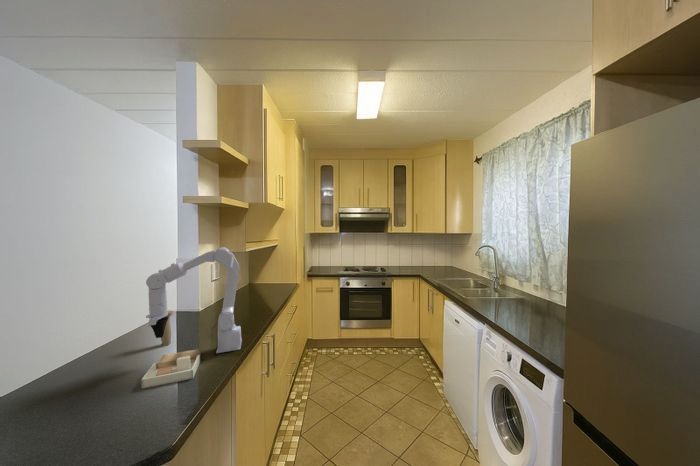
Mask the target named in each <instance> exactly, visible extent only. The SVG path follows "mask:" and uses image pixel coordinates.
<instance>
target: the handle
mask: <svg viewBox="0 0 700 466" xmlns="http://www.w3.org/2000/svg"><path fill="white" fill-rule="evenodd" d="M167 312H168V315H167V316H165V317H169V318H168V320H167V323H166V326H165V330H164V335H163V337H161V338H160V341H161V345H162V346H164V347H165V346H168V345H170V344H171V342H172V328H171V319H170V317H171V316H172V315H174V310H171V309H169V310H167Z"/></svg>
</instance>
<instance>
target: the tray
mask: <svg viewBox="0 0 700 466" xmlns="http://www.w3.org/2000/svg"><path fill="white" fill-rule="evenodd" d="M200 363H201V355H198V356H197V358H196V360H195V362H193V363H191V367H190V369H185V370H179V371H177V366H172V373H171V374H165V375H160V376H156V373H157V371H158V368H157V362H153V364H152V365H150V367H149V369H148V370H147V371H146V373H144V375H143V376H142V378H141V379H140V386H141V388H140V389H141V390H143V389H148V388H153V387H158V386H162V385H167V384H168V385H169V384H173V383H178V382H183V381H187V380H192V379H194V378H195V376H196V373H197V371H198V369H199V366H200ZM160 369H161V368H160Z"/></svg>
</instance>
